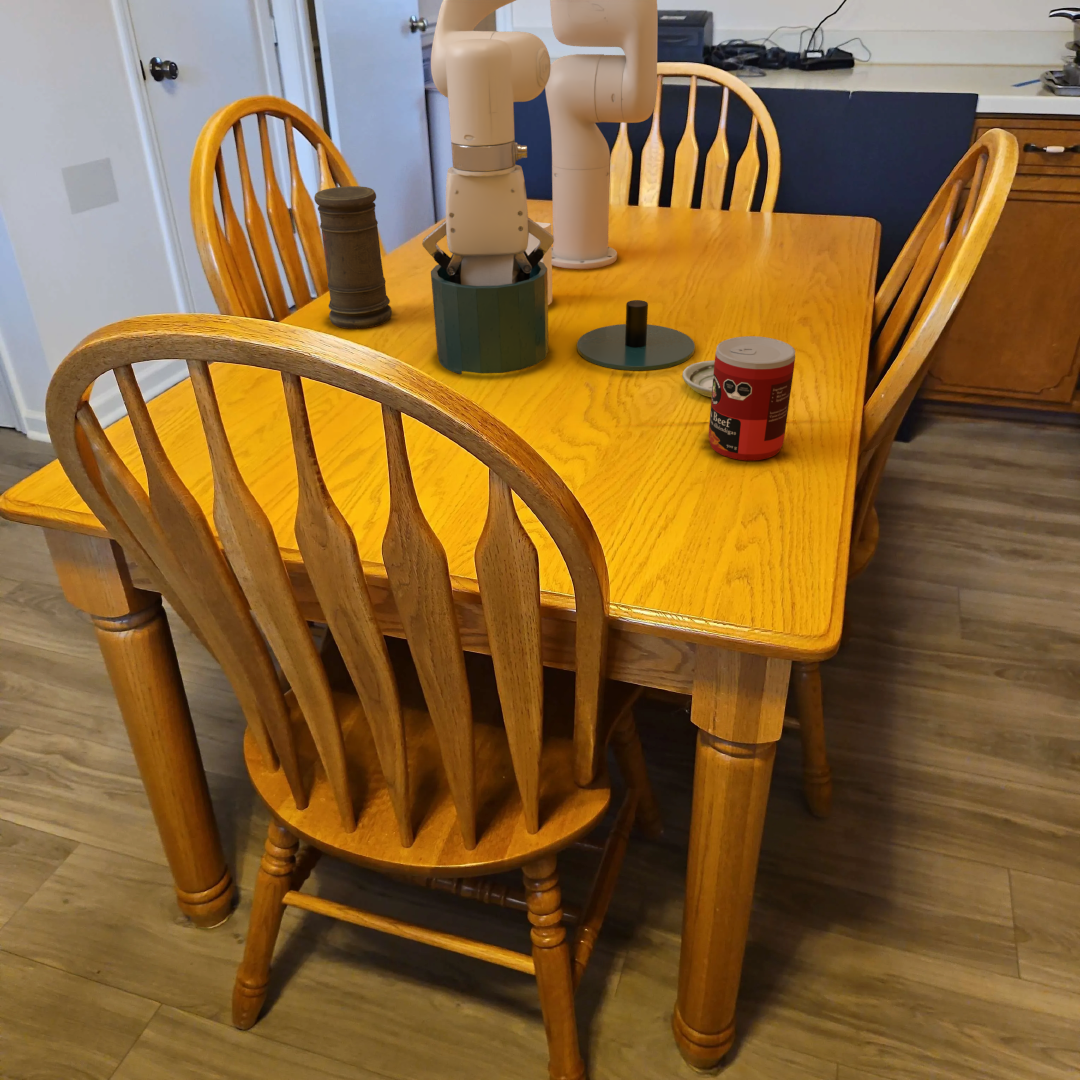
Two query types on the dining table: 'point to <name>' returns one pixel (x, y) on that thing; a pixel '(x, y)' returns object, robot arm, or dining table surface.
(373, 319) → the container
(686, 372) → the saucer
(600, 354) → the lid
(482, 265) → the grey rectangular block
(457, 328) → the pot
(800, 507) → the dining table surface
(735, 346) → the canned food
